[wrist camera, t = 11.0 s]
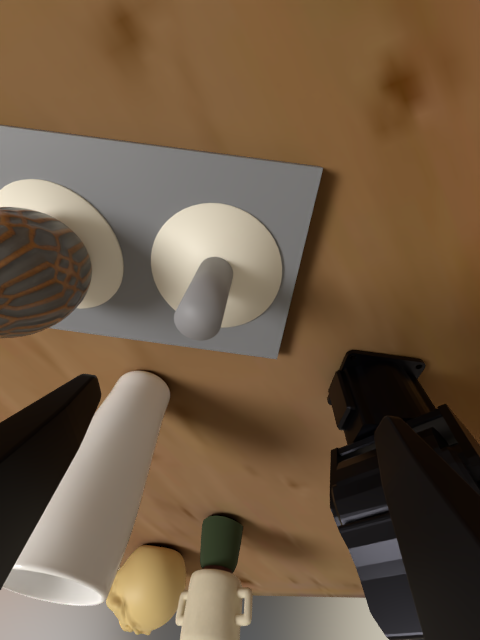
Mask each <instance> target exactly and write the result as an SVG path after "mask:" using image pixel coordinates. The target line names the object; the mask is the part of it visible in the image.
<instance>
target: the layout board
mask: <svg viewBox="0 0 480 640" xmlns="http://www.w3.org/2000/svg"><path fill="white" fill-rule="evenodd" d="M322 170H323V168H322V167H320V166H312V165H304V164H297V163H289V162H281V161H274V160H266V159H259V158H251V157H243V156H236V155H228V154H220V153H213V152H205V151H197V150H190V149H182V148H175V147H167V146H159V145H152V144H144V143H136V142H129V141H121V140H114V139H106V138H98V137H91V136H83V135H75V134H68V133H60V132H52V131H45V130H37V129H30V128H22V127H14V126H7V125H0V207H18V208H25V209H31V210H35V211H38V212H42V213H45V214H47V215H50V216H52V217H54V218H56V219H57V220H59V221H60V222H62V223H63V224H65V225H66V226H67V227H69V228H70V229H71V230H72V231H73V232H74V233H75V234H76V235H77V236H78V237H79V238H80V240H81V241H82V242H83V244H84V246H85V247H86V249H87V252H88V254H89V257H90V261H91V265H92V278H91V283H90V286H89V289H88V291H87V294H86V295H85V297H84V299H83V300H82V302H81V303H80V304H79V305H78V307H77V308H76V309H75V310H74V311H73V312H72V313H71V314H70V315H68V316H67V317H66V318H65V319H63V320H62V321H60V322H59V323H57V324H55V325H53V326H51V327H49V328H53V329H60V330H67V331H75V332H82V333H89V334H96V335H104V336H111V337H118V338H126V339H133V340H140V341H148V342H155V343H162V344H170V345H177V346H184V347H192V348H199V349H206V350H213V351H221V352H228V353H235V354H243V355H250V356H257V357H265V358H272V359H277V356H278V352H279V348H280V344H281V340H282V336H283V332H284V328H285V323H286V319H287V315H288V311H289V307H290V303H291V299H292V294H293V290H294V286H295V282H296V278H297V274H298V270H299V266H300V261H301V257H302V253H303V249H304V245H305V241H306V237H307V232H308V228H309V224H310V220H311V216H312V212H313V208H314V204H315V199H316V195H317V191H318V187H319V183H320V179H321V175H322Z"/></svg>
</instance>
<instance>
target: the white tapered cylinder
mask: <svg viewBox="0 0 480 640" xmlns="http://www.w3.org/2000/svg"><path fill="white" fill-rule="evenodd" d="M169 400H170V390H169V388H168V386H167V384H166V383H165V382H164V381H163V380H162V379H161V378H160V377H158V376H157V375H155V374H153V373H150V372H146V371H131V372H128V373H126V374H124V375H123V376H121V377H120V378H119V380H118V381H117V383H116V384H115V386H114V387H113V389H112V391H111V392H110V394H109V395H108V396H107V398H106V399H105V400H104V402H103V403H102V404H101V406H100V407H99V408H98V410H97V411H96V412H95V414H94V416H93V418H92V420H91V423H90V425H89V427H88V430H87V432H86V434H85V437H84V439H83V441H82V443H81V446H80V448H79V450H78V452H77V453H76V455H75V457H74V459H73V461H72V462H71V464H70V466H69V468H68V470H67V471H66V473H65V475H64V477H63V479H62V480H61V482H60V484H59V486H58V488H57V489H56V491H55V493H54V495H53V497H52V498H51V500H50V502H49V504H48V506H47V507H46V509H45V511H44V513H43V515H42V516H41V518H40V520H39V522H38V524H37V525H36V527H35V529H34V531H33V533H32V534H31V536H30V538H29V540H28V542H27V543H26V545H25V547H24V549H23V550H22V552H21V554H20V556H19V558H18V559H17V561H16V563H15V565H14V567H13V568H12V570H11V572H10V574H9V576H8V577H7V579H6V581H5V583H4V585H3V586H2V587H3V588H4V589H7V590H9V591H12V592H15V593H17V594H21V595H24V596H27V597H30V598H34V599H38V600H42V601H47V602H52V603H58V604H65V605H75V606H91V605H98V604H101V603H103V602H104V601H105V600H106V599H107V598H108V595H109V592H110V589H111V587H112V584H113V582H114V579H115V577H116V574H117V571H118V569H119V566H120V564H121V561H122V558H123V556H124V553H125V550H126V547H127V544H128V541H129V539H130V536H131V533H132V530H133V526H134V523H135V520H136V517H137V513H138V510H139V506H140V503H141V499H142V495H143V492H144V488H145V484H146V480H147V477H148V473H149V469H150V465H151V462H152V458H153V454H154V450H155V447H156V443H157V439H158V436H159V432H160V428H161V425H162V421H163V418H164V414H165V411H166V408H167V406H168V403H169Z"/></svg>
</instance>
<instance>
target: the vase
mask: <svg viewBox="0 0 480 640" xmlns="http://www.w3.org/2000/svg"><path fill="white" fill-rule="evenodd" d="M91 278H92V265H91V261H90V257H89V254H88V252H87V249H86V247H85V246H84V244H83V242H82V241H81V240H80V238H79V237H78V236H77V235H76V234H75V233H74V232H73V231H72V230H71V229H70V228H69V227H67V226H66V225H65V224H63V223H62V222H60V221H59V220H57V219H56V218H54V217H52V216H50V215H47V214H45V213H42V212H38V211H35V210H31V209H25V208H18V207H0V338H14V337H22V336H26V335H31V334H34V333H37V332H40V331H42V330H45V329H47V328H49V327H51V326H53V325H55V324H57V323H59V322H60V321H62V320H63V319H65V318H66V317H67V316H68V315H70V314H71V313H72V312H73V311H74V310H75V309H76V308H77V307H78V305H79V304H80V303H81V302H82V300H83V299H84V297H85V295H86V294H87V291H88V289H89V286H90V283H91Z"/></svg>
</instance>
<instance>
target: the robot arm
mask: <svg viewBox="0 0 480 640" xmlns="http://www.w3.org/2000/svg"><path fill="white" fill-rule="evenodd" d="M353 355H354V356H353ZM351 356H353V357H351ZM417 365H418V366H417ZM424 368H425V363H424V362H423V361H422V360H421V359H415V358H408V357H400V356H393V355H386V354H378V353H371V352H364V351H356V350H350V351H348V352H347V353H346V355H345V357H344V359H343V362H342V364H341V366H340V369H339V370H338V371H337V372H336V373H335V376H334V378H333V380H332V383H331V385H330V388H329V390H328V392H329V395H328V397H327V401H328V404H330V405H332V408H333V412H334V416H335V420H336V424H337V427H338V428H339V430H344V433H345V437H346V441H347V445H346V446H344V447H341V448H335V449H333V450H331V467H330V508H331V511H332V513H333V516H334V519H335V522H336V524H337V527H338V529H339V532H340V534H341V536H342V538H343V540H344V541H345V543H346V545H347V547H348V549H349V551H350V554H351V556H352V559H353V561H354V563H355V566H356V569H357V571H358V574H359V577H360V580H361V584H362V587H363V590H364V593H365V597H366V600H367V603H368V607H369V610H370V612H371V614H372V616H373V618H374V619H375V621H376V622H377V623H378V625H379V627H380V628H381V629H382V631H383V632H384V634H385V635H386V637H387V638H388V639H389V640H480V446H479V444H478V443H477V441H476V440H475V439H474V437H473V436H472V435H471V434H470V432H469V431H468V430H467V429H466V428H465V426H464V425H463V424H462V423H461V421H460V420H459V419H458V418H457V417H456V415H455V414H454V413H453V412H452V411H451V409H450V408H449V407H448V406H447V404H444V405H441V406H439V407H438V409H436V408H435V407H434V405H433V404H432V402H431V400H430V399H429V397H428V396H427V394H426V392H425V391H424V389H423V388H422V386H421V384H420V383H419V381H418V380H417V379H418V377H419V376H420V374H421V373H422V371H423V370H424ZM100 399H101V390H100V386H99V382H98V378H97V377H96V376H95V375H90V374H81V375H79V376H77V377H76V378H74V379H72V380H71V381H69V382H67V383H66V384H64V385H62V386H61V387H59V388H57V389H56V390H54V391H52V392H51V393H49V394H47V395H46V396H44V397H42V398H41V399H39V400H37V401H36V402H34V403H32V404H31V405H29V406H27V407H26V408H24V409H22V410H21V411H19V412H17V413H16V414H14V415H12V416H11V417H9V418H7V419H6V420H4V421H2V422H1V423H0V590H1V588H2V586H3V585H4V583H5V581H6V579H7V577H8V576H9V574H10V572H11V570H12V568H13V567H14V565H15V563H16V561H17V559H18V558H19V556H20V554H21V552H22V550H23V549H24V547H25V545H26V543H27V542H28V540H29V538H30V536H31V534H32V533H33V531H34V529H35V527H36V525H37V524H38V522H39V520H40V518H41V516H42V515H43V513H44V511H45V509H46V507H47V506H48V504H49V502H50V500H51V498H52V497H53V495H54V493H55V491H56V489H57V488H58V486H59V484H60V482H61V480H62V479H63V477H64V475H65V473H66V471H67V470H68V468H69V466H70V464H71V462H72V461H73V459H74V457H75V455H76V453H77V452H78V450H79V448H80V446H81V443H82V441H83V439H84V437H85V434H86V432H87V430H88V427H89V425H90V423H91V420H92V418H93V416H94V413H95V411H96V409H97V406H98V404H99V402H100Z"/></svg>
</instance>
